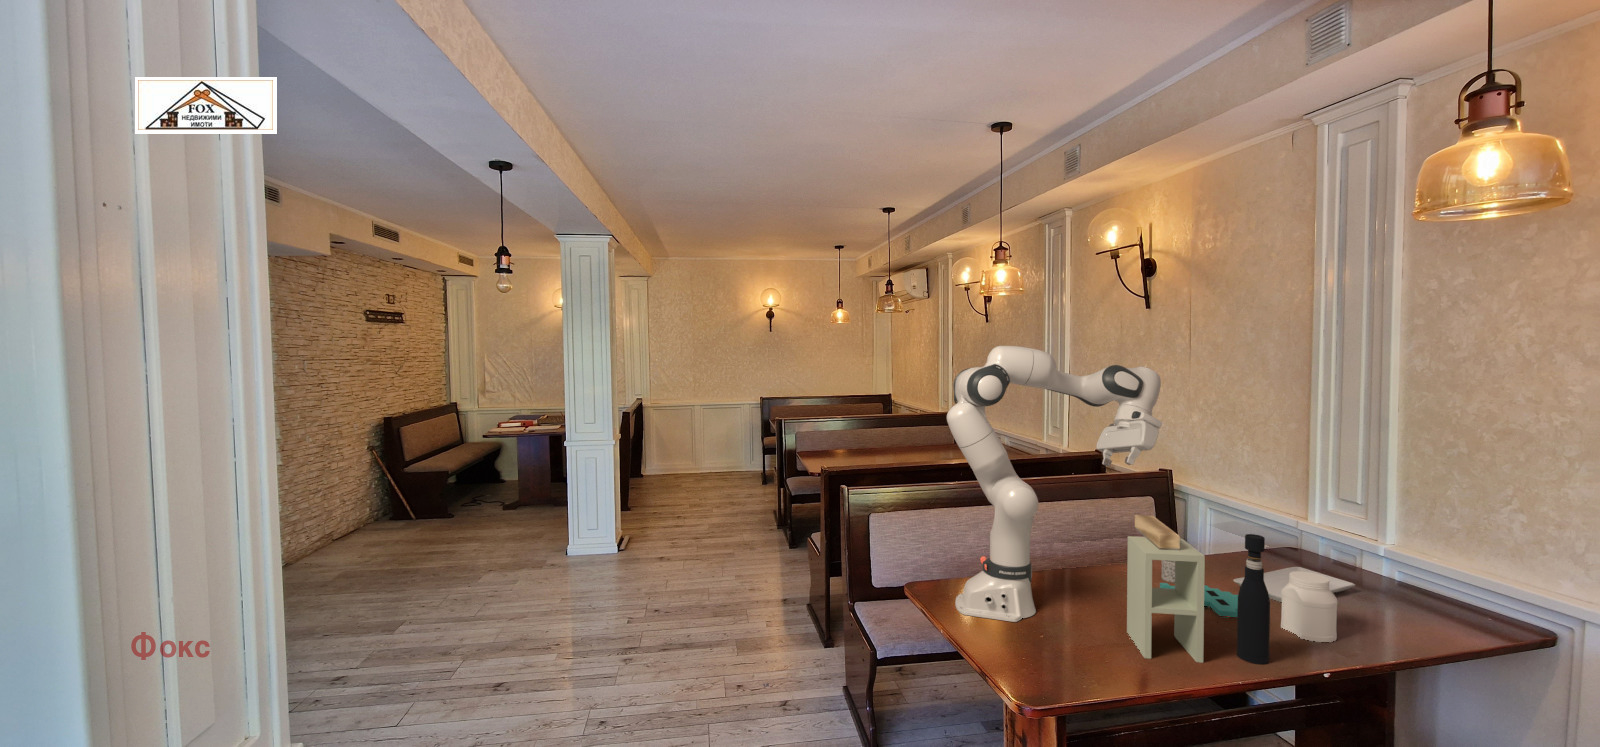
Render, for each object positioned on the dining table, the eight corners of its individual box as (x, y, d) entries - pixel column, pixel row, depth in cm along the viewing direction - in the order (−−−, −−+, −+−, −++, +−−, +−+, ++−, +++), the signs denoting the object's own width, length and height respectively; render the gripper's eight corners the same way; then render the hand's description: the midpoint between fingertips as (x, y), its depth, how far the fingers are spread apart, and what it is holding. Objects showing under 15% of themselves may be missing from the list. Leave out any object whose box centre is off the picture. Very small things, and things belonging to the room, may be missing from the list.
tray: (1357, 594, 193) (1357, 583, 193) (1289, 611, 182) (1289, 599, 182) (1297, 575, 209) (1297, 565, 209) (1231, 590, 198) (1231, 579, 198)
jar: (1345, 642, 162) (1346, 584, 162) (1309, 643, 162) (1310, 585, 161) (1306, 622, 174) (1307, 568, 173) (1273, 624, 173) (1274, 569, 173)
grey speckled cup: (1187, 584, 202) (1187, 564, 202) (1163, 582, 204) (1163, 561, 204) (1180, 574, 211) (1181, 554, 211) (1158, 571, 214) (1158, 552, 214)
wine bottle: (1230, 652, 158) (1232, 532, 156) (1254, 651, 158) (1256, 531, 157) (1250, 665, 151) (1252, 540, 150) (1275, 663, 152) (1278, 539, 151)
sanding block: (1159, 549, 157) (1159, 535, 157) (1134, 527, 175) (1134, 514, 175) (1179, 550, 156) (1179, 535, 156) (1152, 528, 175) (1152, 515, 174)
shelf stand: (1144, 658, 155) (1145, 553, 154) (1126, 632, 169) (1127, 536, 168) (1203, 662, 153) (1204, 556, 152) (1180, 636, 167) (1181, 538, 165)
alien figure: (1184, 616, 180) (1264, 621, 176) (1184, 608, 180) (1264, 613, 176) (1159, 589, 200) (1230, 593, 196) (1159, 582, 199) (1230, 586, 195)
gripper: (1099, 419, 192) (1084, 461, 189) (1147, 411, 173) (1132, 457, 169) (1116, 429, 193) (1102, 470, 190) (1167, 422, 173) (1152, 468, 170)
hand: (1117, 464), depth 179 cm, fingers open, 8 cm apart
